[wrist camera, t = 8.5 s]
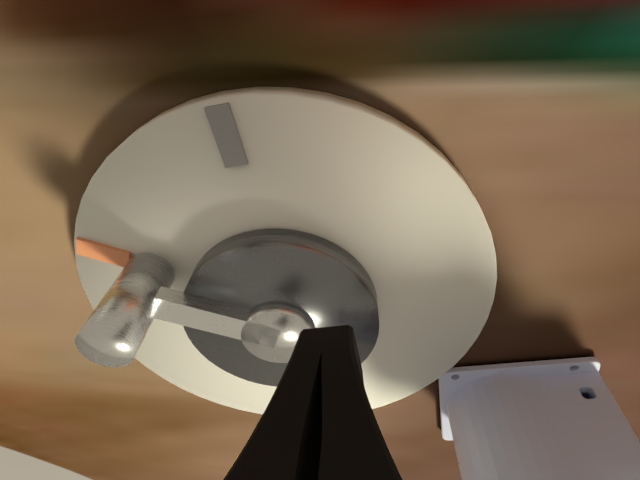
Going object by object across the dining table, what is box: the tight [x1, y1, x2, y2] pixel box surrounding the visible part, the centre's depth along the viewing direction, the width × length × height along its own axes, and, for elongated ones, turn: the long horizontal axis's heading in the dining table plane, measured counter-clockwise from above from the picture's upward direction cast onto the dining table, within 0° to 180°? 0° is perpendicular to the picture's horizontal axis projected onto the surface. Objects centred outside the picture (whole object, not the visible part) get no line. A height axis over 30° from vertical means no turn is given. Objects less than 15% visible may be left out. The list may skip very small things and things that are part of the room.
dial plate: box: [74, 86, 497, 414], centre depth 23 cm, size 22×22×1 cm
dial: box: [75, 228, 379, 387], centre depth 20 cm, size 13×10×5 cm
